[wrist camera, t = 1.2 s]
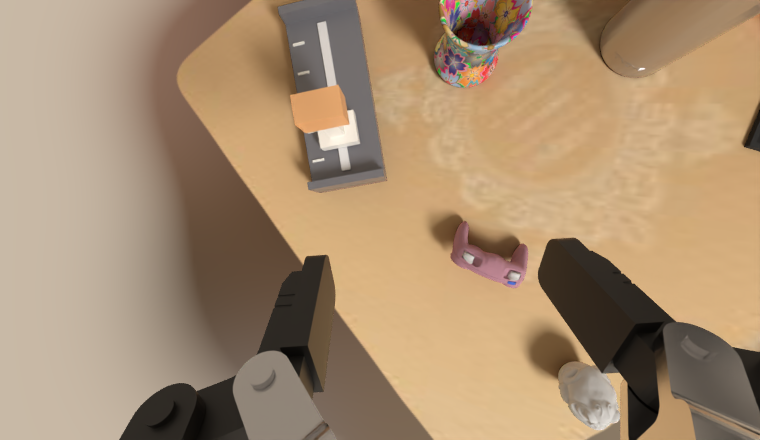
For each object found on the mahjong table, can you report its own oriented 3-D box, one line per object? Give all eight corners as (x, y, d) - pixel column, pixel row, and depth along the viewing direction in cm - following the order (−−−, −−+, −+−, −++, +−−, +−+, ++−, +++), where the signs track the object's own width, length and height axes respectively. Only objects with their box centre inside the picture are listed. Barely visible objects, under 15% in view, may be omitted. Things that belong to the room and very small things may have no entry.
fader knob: (360, 143, 37) (344, 119, 27) (324, 150, 38) (295, 129, 28) (355, 113, 37) (337, 79, 27) (319, 121, 38) (289, 90, 28)
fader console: (387, 180, 40) (384, 176, 35) (320, 192, 41) (308, 190, 36) (359, 15, 40) (352, -13, 35) (293, 31, 41) (277, 6, 36)
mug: (485, 101, 39) (514, 59, 28) (421, 82, 40) (426, 34, 29) (515, 16, 38) (557, -59, 28) (449, -2, 39) (465, -82, 28)
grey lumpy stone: (548, 399, 39) (579, 439, 32) (545, 349, 39) (575, 379, 32) (595, 399, 38) (636, 440, 31) (591, 348, 38) (633, 378, 31)
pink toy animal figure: (447, 242, 41) (445, 270, 35) (460, 216, 39) (460, 242, 33) (512, 267, 40) (521, 301, 34) (529, 243, 38) (542, 274, 32)
